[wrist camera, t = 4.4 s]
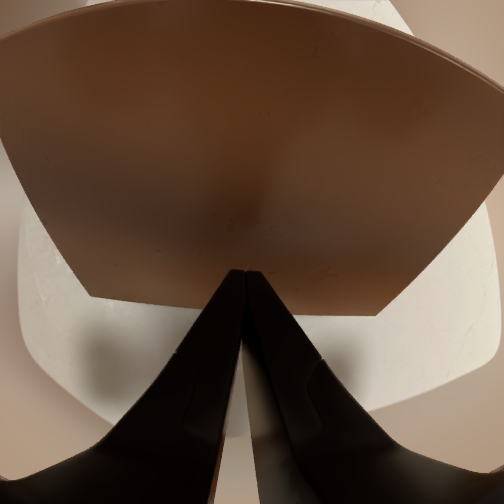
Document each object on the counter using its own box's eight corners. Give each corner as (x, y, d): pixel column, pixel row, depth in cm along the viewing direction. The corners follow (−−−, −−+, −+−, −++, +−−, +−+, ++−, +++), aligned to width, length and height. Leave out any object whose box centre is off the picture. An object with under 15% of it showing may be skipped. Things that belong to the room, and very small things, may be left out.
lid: (-7, 39, 3) (-28, 52, 3) (523, 101, 4) (539, 118, 4) (94, 282, 13) (90, 297, 12) (373, 302, 14) (375, 316, 13)
